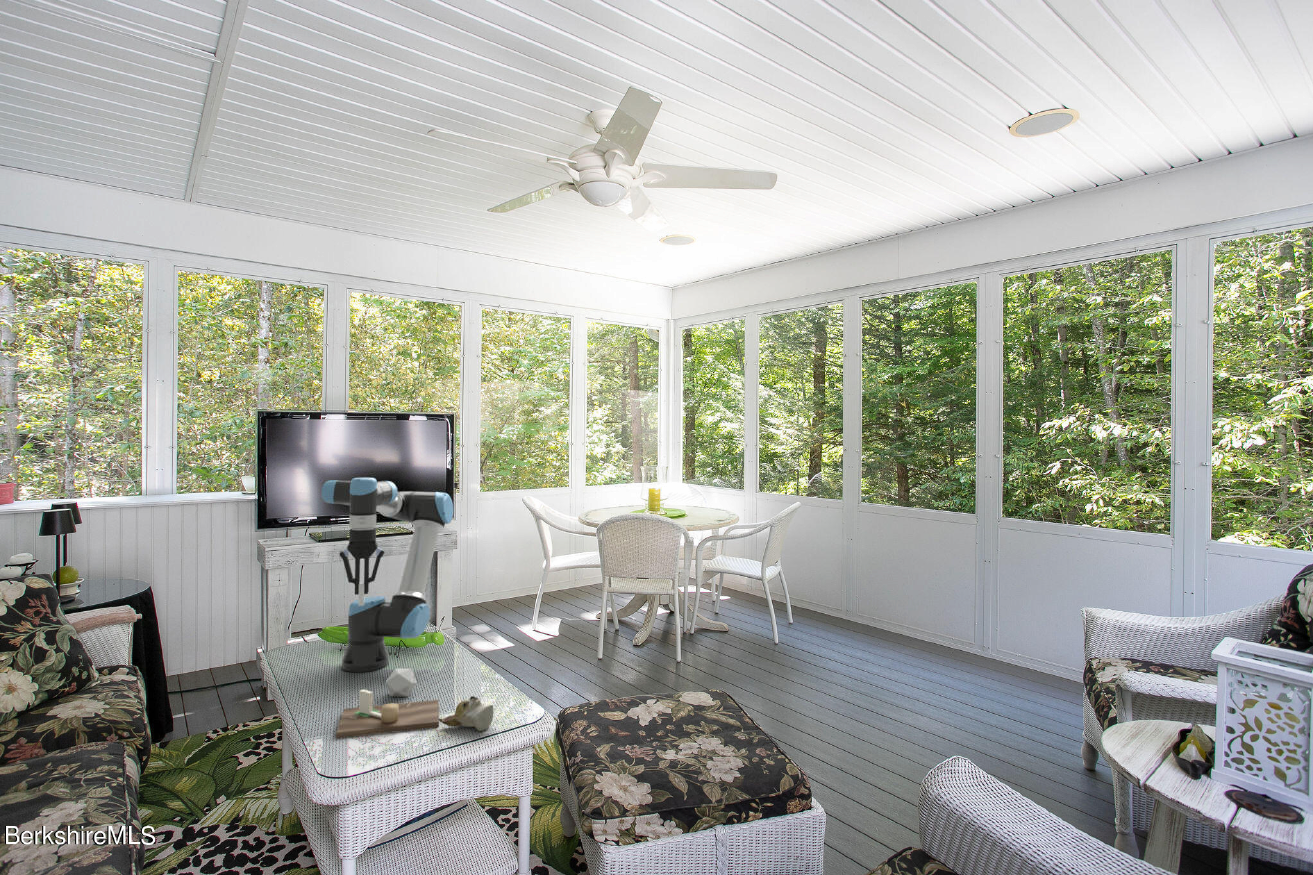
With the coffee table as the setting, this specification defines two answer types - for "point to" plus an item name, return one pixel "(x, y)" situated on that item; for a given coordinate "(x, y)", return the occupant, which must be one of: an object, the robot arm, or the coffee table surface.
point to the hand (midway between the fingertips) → (361, 604)
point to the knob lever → (387, 712)
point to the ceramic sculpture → (471, 715)
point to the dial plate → (408, 719)
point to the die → (401, 682)
